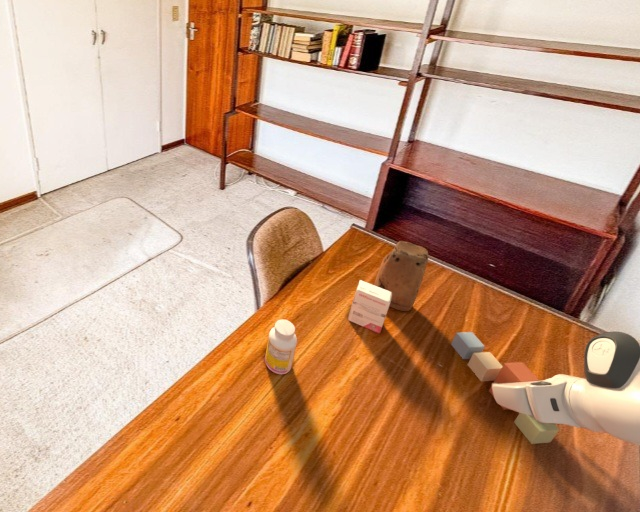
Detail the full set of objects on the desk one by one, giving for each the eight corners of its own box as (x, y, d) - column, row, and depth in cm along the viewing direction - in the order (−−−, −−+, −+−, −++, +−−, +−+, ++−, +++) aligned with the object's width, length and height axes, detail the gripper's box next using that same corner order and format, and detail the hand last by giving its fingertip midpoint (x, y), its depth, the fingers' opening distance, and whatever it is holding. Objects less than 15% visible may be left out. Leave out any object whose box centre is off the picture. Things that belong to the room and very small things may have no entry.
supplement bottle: (276, 347, 103) (284, 311, 98) (296, 366, 98) (305, 330, 93) (258, 360, 99) (265, 323, 94) (278, 380, 95) (286, 343, 89)
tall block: (505, 389, 95) (522, 361, 91) (521, 408, 91) (540, 380, 86) (488, 391, 94) (504, 363, 90) (503, 410, 90) (521, 381, 86)
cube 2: (483, 363, 101) (489, 351, 99) (497, 380, 97) (504, 368, 95) (467, 364, 101) (473, 352, 99) (480, 381, 96) (487, 369, 95)
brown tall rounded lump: (410, 299, 120) (430, 247, 111) (410, 316, 114) (431, 262, 105) (372, 286, 125) (389, 234, 116) (370, 301, 118) (387, 249, 110)
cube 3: (466, 343, 106) (471, 331, 104) (478, 358, 102) (485, 346, 100) (450, 344, 106) (456, 332, 104) (462, 359, 102) (469, 347, 100)
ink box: (382, 322, 112) (393, 291, 106) (379, 335, 108) (391, 303, 103) (350, 309, 116) (359, 278, 111) (347, 320, 112) (356, 289, 107)
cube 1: (531, 420, 88) (540, 408, 86) (550, 442, 84) (559, 429, 82) (513, 422, 88) (521, 409, 86) (531, 444, 84) (540, 431, 82)
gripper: (615, 379, 79) (549, 366, 92) (524, 386, 77) (469, 372, 90) (628, 415, 77) (559, 397, 90) (534, 423, 75) (477, 404, 88)
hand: (513, 385), depth 90 cm, fingers open, 8 cm apart
